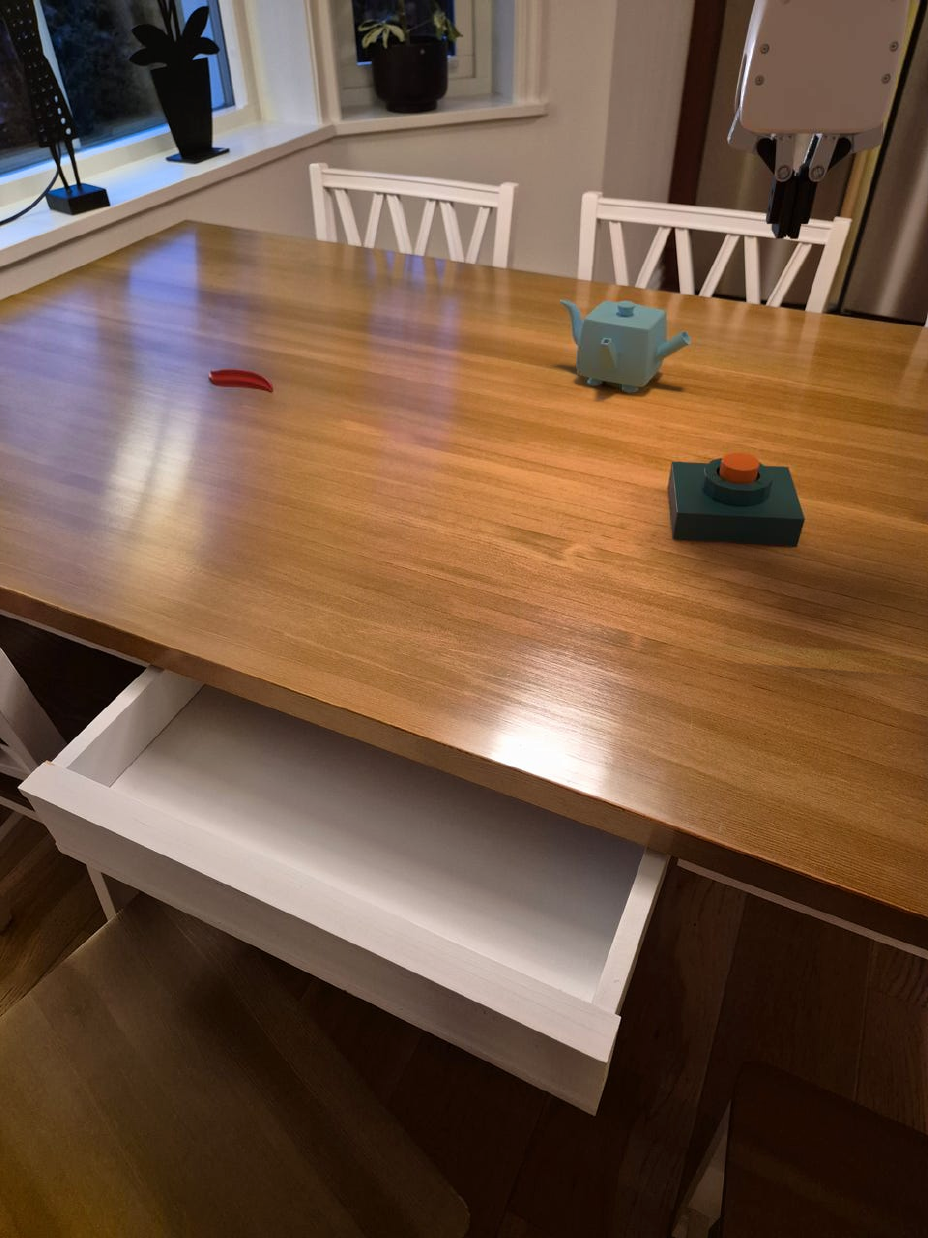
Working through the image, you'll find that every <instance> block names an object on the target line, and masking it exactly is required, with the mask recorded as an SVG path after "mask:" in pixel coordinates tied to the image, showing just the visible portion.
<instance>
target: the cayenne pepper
mask: <svg viewBox="0 0 928 1238" xmlns="http://www.w3.org/2000/svg"><path fill="white" fill-rule="evenodd" d="M208 380H209V382H211V384H213V385H215V386H217V387H242V388H251V389H258V390H264V391H267V392H270V393H273V392H274V386H273V384H272V382H271V381H270V380H268V379H267V378H265V376H262V375H261V374H259V373H258V372H257V373H256V372H254V371H249V370H245V369H237V368H236V369H235V368H224V369H218V370H212V369H210V372H208Z"/></svg>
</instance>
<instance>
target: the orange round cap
mask: <svg viewBox="0 0 928 1238" xmlns="http://www.w3.org/2000/svg"><path fill="white" fill-rule="evenodd" d="M721 458H722V461H721V466H720V472H719V476H720V477H721V478H722V479H723V480H725V481H728V482H731V483H734V484H749V483H753V482H755V481H756V478H757V474H758V469H759V465H760V463H761V462H760V460H759V459H758V458H757V457H755V456H754V455H751V454H750V453H745V452H730V453H727V454H725V455H723V457H721Z"/></svg>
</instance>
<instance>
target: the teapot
mask: <svg viewBox="0 0 928 1238" xmlns="http://www.w3.org/2000/svg"><path fill="white" fill-rule="evenodd" d="M559 303H560V304H562V305H563V306H564V307H565V308H566V309H567V312H568V314H569V317H570V327H571V334H572V338H573V341H574V343H575V344H576V345H577V351H576V360H575V366H576V372H577V375H579V376H582V377H585V378H589V379H588V380H587V384H588V385H590V386H593V387H594V386H601V385H602V384H603V383H604V382H608V383H613V384H620V385H621V386H622V387H621V389H622V391H623V392H625V393H637V392H638V391H639V388H641V387H642V388H643V387H645V386H647V384H648V383H649V382H650V381H651V380H652V379H653V378H654V377H655V375H656V374H657V373H658V372H659V370H660V369H661V367H662V365H663V363H664V360H665V359H666V358H668V357H670V356H671V355H673V354H675V353H676V352H678V351H680V350H682V349H683V348H685V347H687V346H690V345H691V344H692V340H691V336H690V335H689V334H688V332H687V331H685V330H682V331H680V332H679V333H677V334H676V335H674V336H672V337H671V338H669V339H668V340H667V337H668V335H667V334H668V327H667V326H668V325H667V324H668V323H667V321H668V320H667V311H666V310H665V309H661V308H655V307H650V306H645V305H641V304H638V303H635V302H633V301H630V300H621V301H606V300H604V301H602V302H601V303H600V304H599V305H597V306H595V308H594V309H593V310H592V311H590V312H589V313H588V314H587V315H586V316H585V317H584V319H583V320H582V316H581V312H580V309H579V307H578V306H577V304H575V302H573V301H572V300H571V301H570V300H568V299H559Z"/></svg>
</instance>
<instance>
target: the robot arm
mask: <svg viewBox="0 0 928 1238" xmlns="http://www.w3.org/2000/svg"><path fill="white" fill-rule="evenodd" d="M910 2H911V0H754V4H753V8H752V11H751V16H750V20H749V24H748V29H747V33H746V38H745V44H744V48H743V54H742V58H741V63H740V69H739V73H738V80H737V85H736V90H735V91H736V92H735V97H734V115H735V116H734V119H733V121H732V124H731V127H730V129H729V132H728V134H727V137H726V138H727V139H726V140H727V143H728V145H729V147H730V148H731V149H733V150H737V151H741V152H744V153H748V154H751V155H756V156H759V157H760V159H761V160H762V161H763V163H764V164H765V165H766V167H767V168H768V169H769V171H770V172H771V174H772V175H773V177H772V182H771V187H770V193H769V197H768V203H767V209H766V215H765V223H766V224H767V225H771V227H770V228H771V232H772V234H773V236H774V237H775V240H784V239H785V238H789V239H790V240H798V239H799V237H800V233H801V229H802V225H808V224H809V223H810V220H811V215H812V210H813V206H814V203H815V202H814V201H815V196H816V192H817V189H818V183H819V182H820V181H821V180H823V179H824V178H825V176H826V174H827V173H828V172H829V171H830V170H831V169H833V168H834V167H835V166H836V165H837V164H838V163H839V162H840V161H842V160H843V159H844V158H845V157H846V156H847V155H850V154H851V155H852V154H857V153H860V152H861V153H862V152H864V151H868V150H873V149H876V148H878V147H879V146H881V144H882V142H883V139H884V121H885V119H886V118H887V115H888V112H889V110H890V107H891V104H892V100H893V96H894V92H895V88H896V83H897V79H898V74H899V69H900V64H901V59H902V54H903V48H904V42H905V36H906V29H907V23H908V17H909V16H908V15H909V8H910ZM768 134H770V135H768ZM799 134H800V135H803V134H804V135H805V134H806V135H807V134H811V135H812V136H811V139H810V141H809V145H808V148H807V150H806V153H805V156H804V159H803V162H802V164H801V165H800V166H799V168H798V172H796V170H795V169H794V155H795V138H796V135H799Z"/></svg>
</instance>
